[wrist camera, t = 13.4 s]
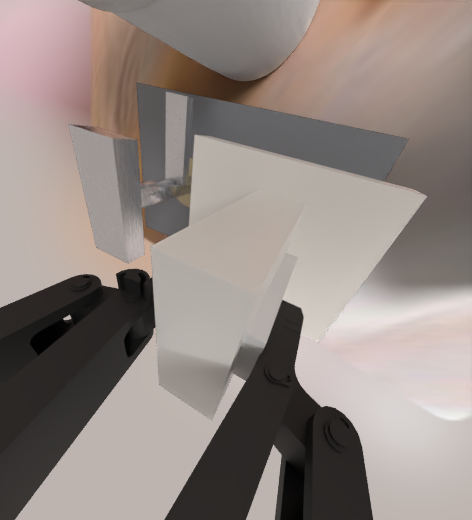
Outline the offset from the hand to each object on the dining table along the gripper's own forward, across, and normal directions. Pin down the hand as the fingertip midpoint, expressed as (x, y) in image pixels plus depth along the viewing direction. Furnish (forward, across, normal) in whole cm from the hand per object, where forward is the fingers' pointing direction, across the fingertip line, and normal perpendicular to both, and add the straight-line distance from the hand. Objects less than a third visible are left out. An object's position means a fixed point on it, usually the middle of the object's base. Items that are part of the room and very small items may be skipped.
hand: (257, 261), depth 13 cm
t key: (+11, -13, +1) cm, 17 cm away
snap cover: (+4, 0, 0) cm, 4 cm away
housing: (+16, -7, 0) cm, 18 cm away
